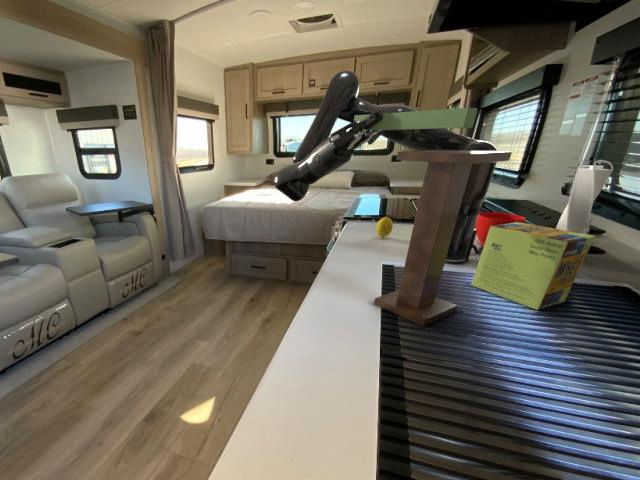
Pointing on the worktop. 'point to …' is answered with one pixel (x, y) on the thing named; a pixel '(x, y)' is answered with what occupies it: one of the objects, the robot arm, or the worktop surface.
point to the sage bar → (425, 119)
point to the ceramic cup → (493, 223)
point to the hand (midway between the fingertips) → (386, 114)
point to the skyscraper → (583, 197)
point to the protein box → (530, 263)
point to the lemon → (384, 227)
